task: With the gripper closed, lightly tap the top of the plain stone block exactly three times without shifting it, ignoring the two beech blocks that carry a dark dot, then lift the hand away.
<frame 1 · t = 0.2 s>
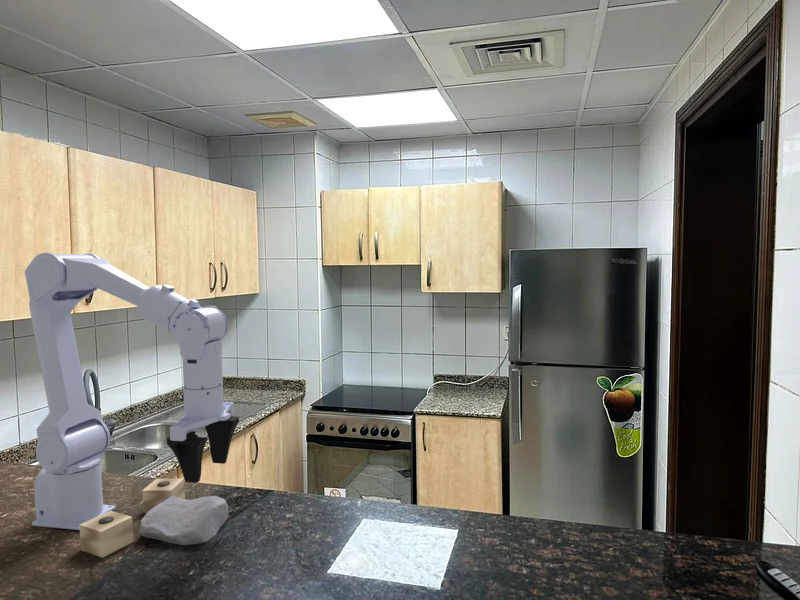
hand: (206, 471, 83), 10 cm above the countertop, tool pointing down, fingers open, 7 cm apart
beech block 2: (164, 506, 93), on the countertop
stone block: (183, 533, 85), on the countertop
beech block 1: (107, 546, 80), on the countertop
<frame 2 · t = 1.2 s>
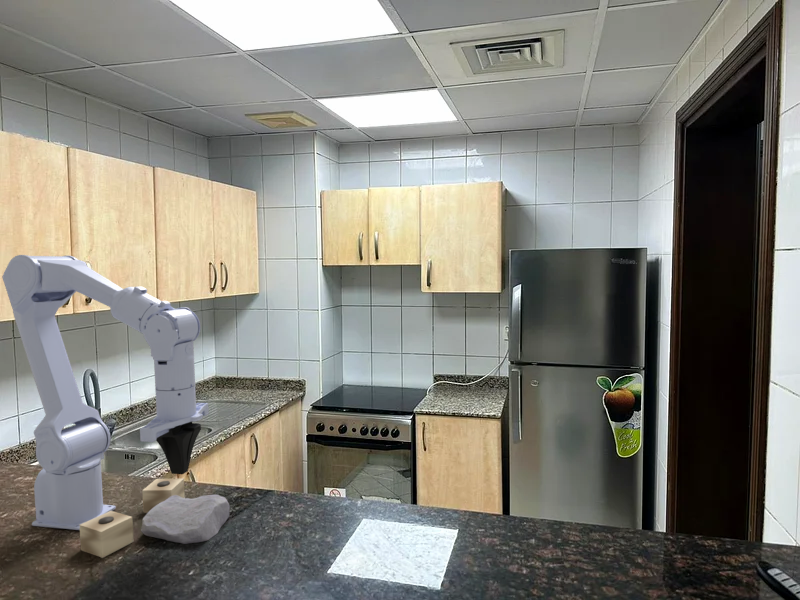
hand: (179, 472, 84), 9 cm above the countertop, tool pointing down, fingers closed
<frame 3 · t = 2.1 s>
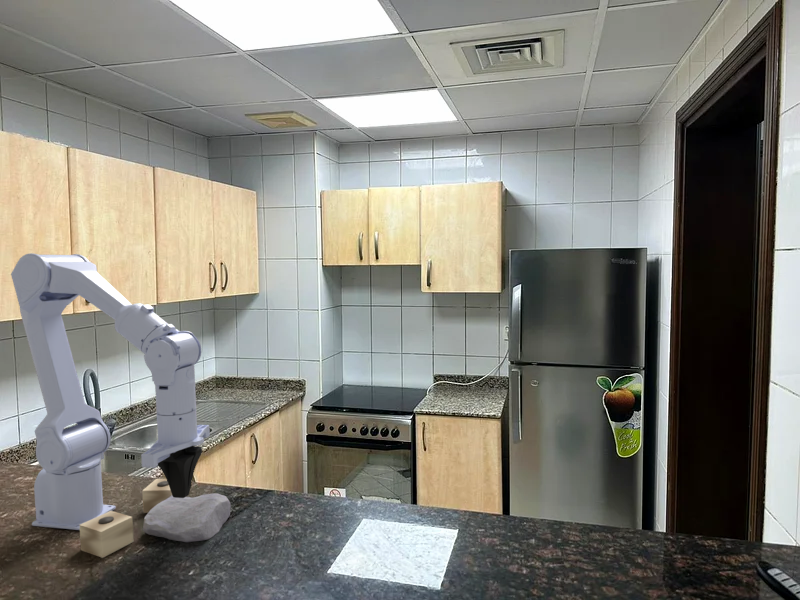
hand: (180, 495, 84), 6 cm above the countertop, tool pointing down, fingers closed
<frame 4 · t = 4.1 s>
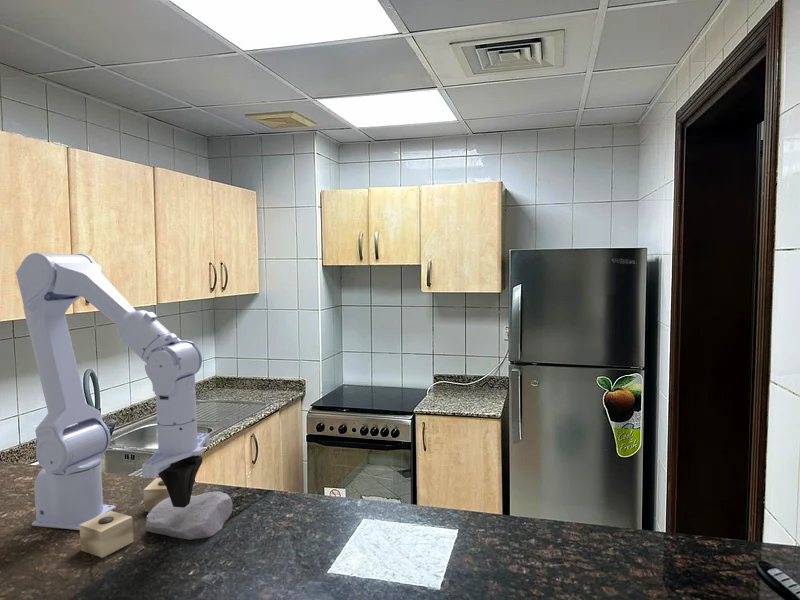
hand: (181, 505, 84), 4 cm above the countertop, tool pointing down, fingers closed
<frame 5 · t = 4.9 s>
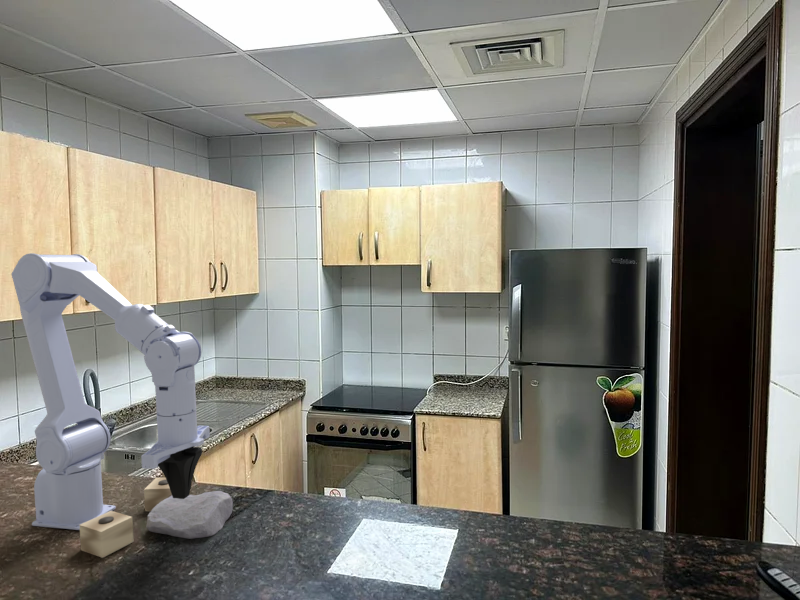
hand: (181, 496, 84), 5 cm above the countertop, tool pointing down, fingers closed
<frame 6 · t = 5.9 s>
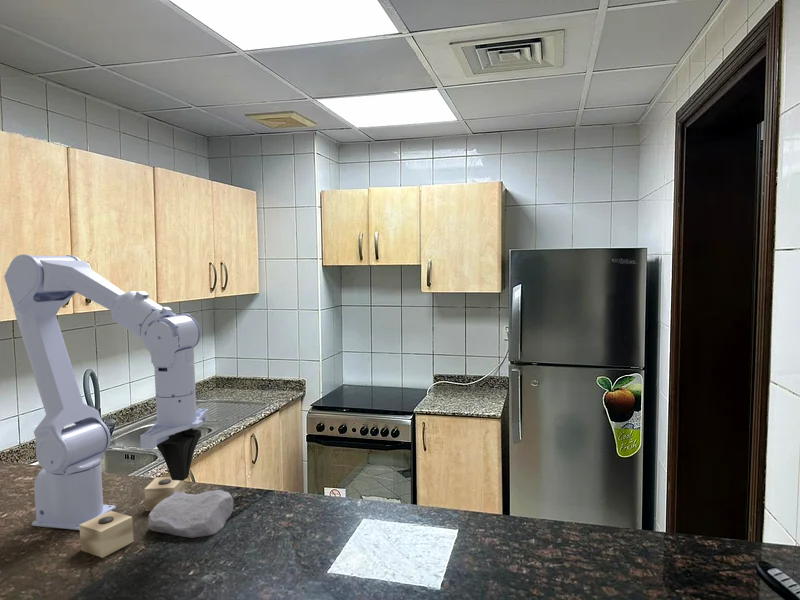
hand: (179, 478, 84), 8 cm above the countertop, tool pointing down, fingers closed
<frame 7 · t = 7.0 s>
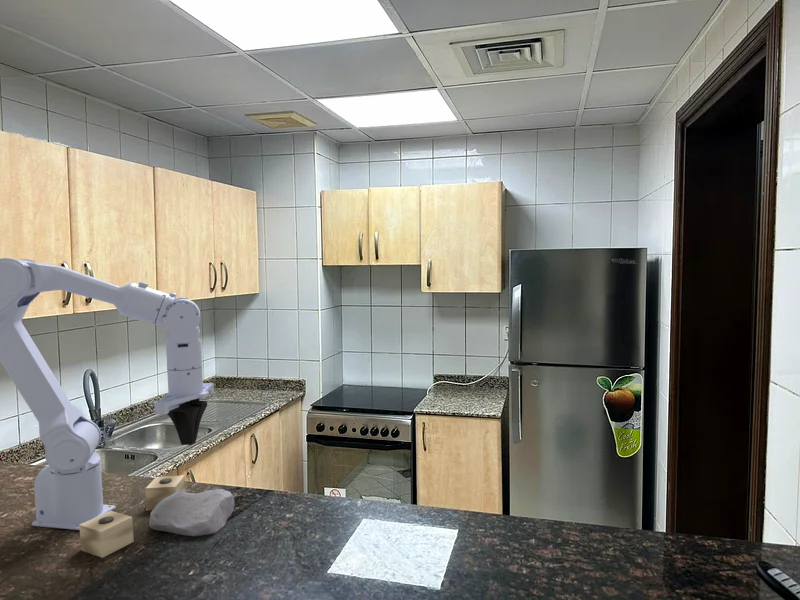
hand: (188, 443, 94), 10 cm above the countertop, tool pointing down, fingers closed
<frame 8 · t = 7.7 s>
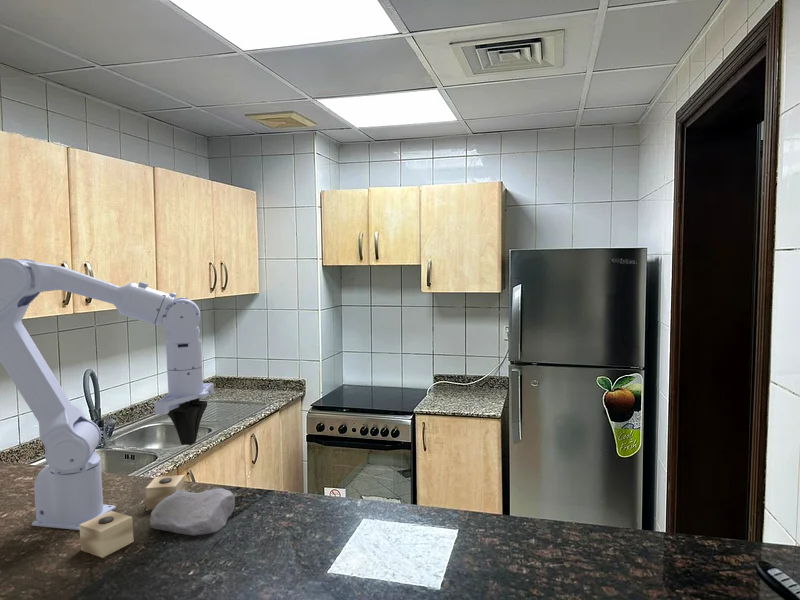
hand: (188, 443, 94), 10 cm above the countertop, tool pointing down, fingers closed
at the end: stone block inside the target area (3.1 cm from its centre), on the countertop; stone block tilted 0°; beech block 2 1.4 cm from the target spot, on the countertop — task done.
